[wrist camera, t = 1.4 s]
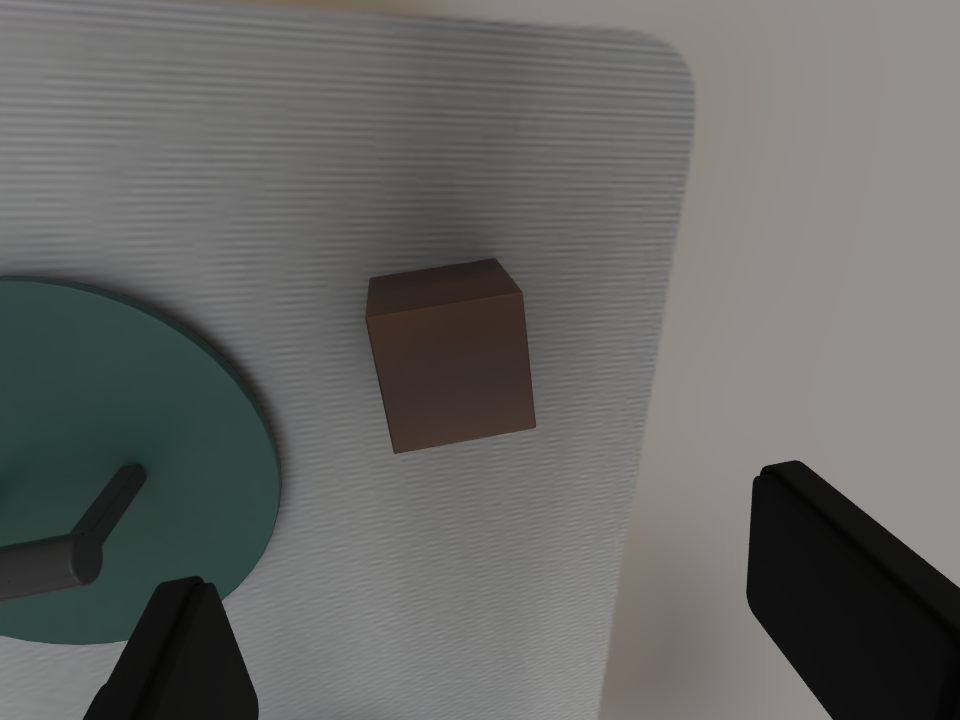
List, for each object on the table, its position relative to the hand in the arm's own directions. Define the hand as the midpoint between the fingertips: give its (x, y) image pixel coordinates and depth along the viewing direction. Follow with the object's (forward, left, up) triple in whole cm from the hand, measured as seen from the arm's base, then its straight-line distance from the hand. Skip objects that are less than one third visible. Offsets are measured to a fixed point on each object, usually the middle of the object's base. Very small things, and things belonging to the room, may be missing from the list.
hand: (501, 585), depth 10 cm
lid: (+3, -14, -12) cm, 19 cm away
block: (0, 0, -13) cm, 13 cm away
